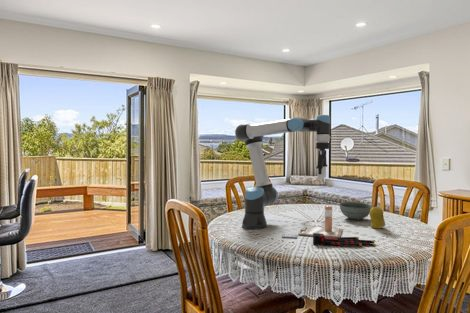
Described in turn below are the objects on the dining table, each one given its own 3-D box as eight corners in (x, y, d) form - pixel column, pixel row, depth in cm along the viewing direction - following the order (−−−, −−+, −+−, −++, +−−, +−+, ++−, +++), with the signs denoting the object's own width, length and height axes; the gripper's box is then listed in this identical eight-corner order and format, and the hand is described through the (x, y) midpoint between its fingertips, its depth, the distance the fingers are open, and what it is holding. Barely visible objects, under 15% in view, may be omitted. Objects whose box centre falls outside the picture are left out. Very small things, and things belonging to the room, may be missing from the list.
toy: (372, 246, 174) (312, 241, 177) (372, 237, 174) (313, 232, 177) (377, 251, 166) (314, 246, 169) (377, 241, 166) (315, 236, 169)
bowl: (355, 214, 241) (355, 200, 240) (379, 220, 222) (379, 205, 222) (332, 217, 232) (332, 203, 232) (355, 224, 213) (355, 208, 213)
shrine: (382, 231, 196) (382, 205, 195) (367, 229, 200) (367, 204, 200) (386, 227, 205) (386, 202, 204) (372, 225, 210) (372, 201, 209)
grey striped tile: (281, 237, 184) (281, 236, 184) (282, 234, 190) (282, 233, 190) (296, 238, 183) (296, 237, 183) (297, 235, 189) (297, 234, 189)
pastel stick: (324, 231, 192) (324, 207, 192) (325, 229, 196) (325, 205, 196) (331, 232, 191) (331, 207, 190) (332, 230, 195) (332, 206, 194)
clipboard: (298, 235, 189) (298, 232, 189) (304, 226, 207) (304, 223, 207) (339, 239, 181) (339, 235, 181) (342, 230, 199) (342, 227, 199)
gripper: (326, 142, 183) (325, 181, 184) (332, 142, 206) (330, 176, 207) (312, 142, 186) (311, 180, 187) (319, 141, 209) (318, 176, 210)
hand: (321, 178), depth 197 cm, fingers open, 13 cm apart
